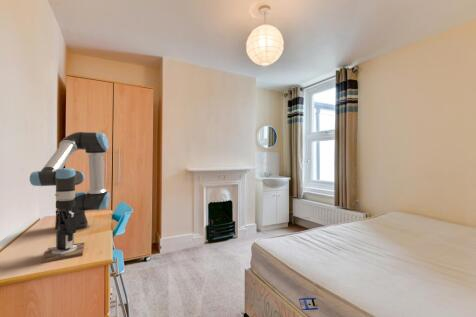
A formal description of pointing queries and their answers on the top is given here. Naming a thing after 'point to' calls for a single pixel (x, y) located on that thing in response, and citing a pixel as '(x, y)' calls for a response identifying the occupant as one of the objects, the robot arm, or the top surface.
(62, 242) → the supplement bottle
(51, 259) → the board
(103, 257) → the top surface
